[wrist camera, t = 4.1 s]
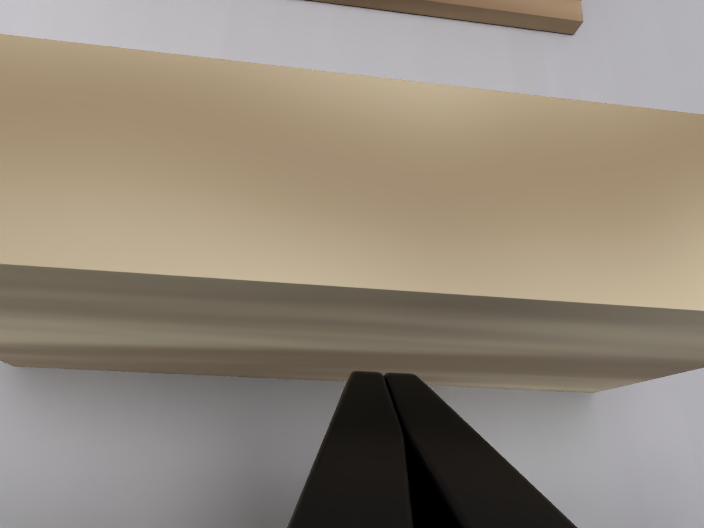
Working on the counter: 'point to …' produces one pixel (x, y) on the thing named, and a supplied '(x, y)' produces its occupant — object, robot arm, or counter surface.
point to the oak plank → (340, 225)
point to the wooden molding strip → (490, 11)
